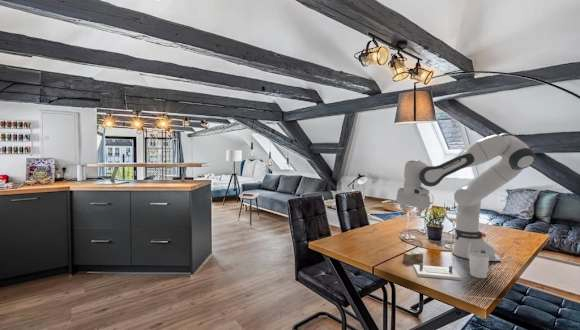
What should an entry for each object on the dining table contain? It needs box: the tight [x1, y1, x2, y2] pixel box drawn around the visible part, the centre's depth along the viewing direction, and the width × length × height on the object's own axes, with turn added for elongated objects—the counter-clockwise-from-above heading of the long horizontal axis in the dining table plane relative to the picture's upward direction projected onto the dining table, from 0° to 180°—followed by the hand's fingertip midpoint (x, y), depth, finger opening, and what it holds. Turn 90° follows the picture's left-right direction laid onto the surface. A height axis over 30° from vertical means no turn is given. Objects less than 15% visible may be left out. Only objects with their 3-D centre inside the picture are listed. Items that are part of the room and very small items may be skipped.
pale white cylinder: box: [468, 252, 490, 279], centre depth 137 cm, size 8×8×10 cm
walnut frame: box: [402, 251, 424, 265], centre depth 154 cm, size 9×4×5 cm, turn 104°
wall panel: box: [412, 262, 462, 281], centre depth 139 cm, size 18×12×4 cm, turn 77°
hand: (411, 214), depth 159 cm, fingers open, 8 cm apart
